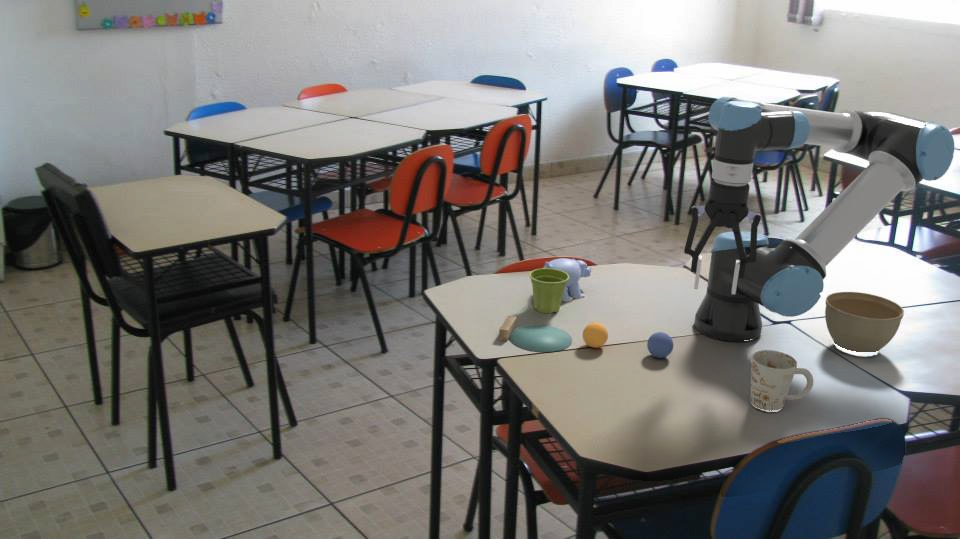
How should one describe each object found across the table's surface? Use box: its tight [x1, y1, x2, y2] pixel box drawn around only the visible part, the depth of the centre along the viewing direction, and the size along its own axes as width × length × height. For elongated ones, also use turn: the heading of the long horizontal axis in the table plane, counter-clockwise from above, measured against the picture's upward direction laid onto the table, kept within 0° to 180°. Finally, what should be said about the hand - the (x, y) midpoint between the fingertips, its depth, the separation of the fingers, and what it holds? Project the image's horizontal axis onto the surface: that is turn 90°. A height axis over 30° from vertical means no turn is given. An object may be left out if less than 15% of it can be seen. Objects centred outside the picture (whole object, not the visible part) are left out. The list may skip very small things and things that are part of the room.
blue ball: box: [646, 331, 674, 359], centre depth 195 cm, size 6×6×6 cm
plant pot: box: [528, 267, 569, 314], centre depth 216 cm, size 9×9×9 cm
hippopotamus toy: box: [543, 257, 592, 303], centre depth 227 cm, size 11×15×10 cm
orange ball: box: [582, 321, 609, 349], centre depth 198 cm, size 6×6×6 cm
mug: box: [750, 349, 814, 411], centre depth 176 cm, size 8×13×10 cm, turn 95°
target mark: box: [509, 324, 573, 353], centre depth 202 cm, size 14×14×1 cm
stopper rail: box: [498, 315, 517, 342], centre depth 203 cm, size 2×8×2 cm, turn 165°
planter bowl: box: [824, 291, 905, 352], centre depth 202 cm, size 16×16×11 cm
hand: (714, 289), depth 188 cm, fingers open, 7 cm apart
